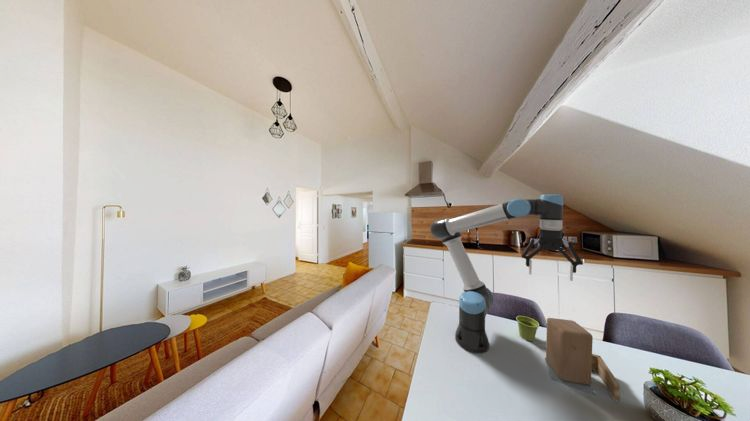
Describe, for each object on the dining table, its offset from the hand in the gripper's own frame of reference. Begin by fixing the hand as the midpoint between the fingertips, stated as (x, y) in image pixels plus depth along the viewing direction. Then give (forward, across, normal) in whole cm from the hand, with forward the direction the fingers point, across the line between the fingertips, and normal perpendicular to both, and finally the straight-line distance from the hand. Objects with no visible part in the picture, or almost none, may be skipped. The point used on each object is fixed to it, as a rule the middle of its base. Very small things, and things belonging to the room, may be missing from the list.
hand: (549, 276), depth 86 cm
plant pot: (+37, -6, +11) cm, 39 cm away
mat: (+37, +5, -8) cm, 38 cm away
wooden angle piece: (+37, +9, -5) cm, 38 cm away
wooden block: (+37, +5, -8) cm, 38 cm away
